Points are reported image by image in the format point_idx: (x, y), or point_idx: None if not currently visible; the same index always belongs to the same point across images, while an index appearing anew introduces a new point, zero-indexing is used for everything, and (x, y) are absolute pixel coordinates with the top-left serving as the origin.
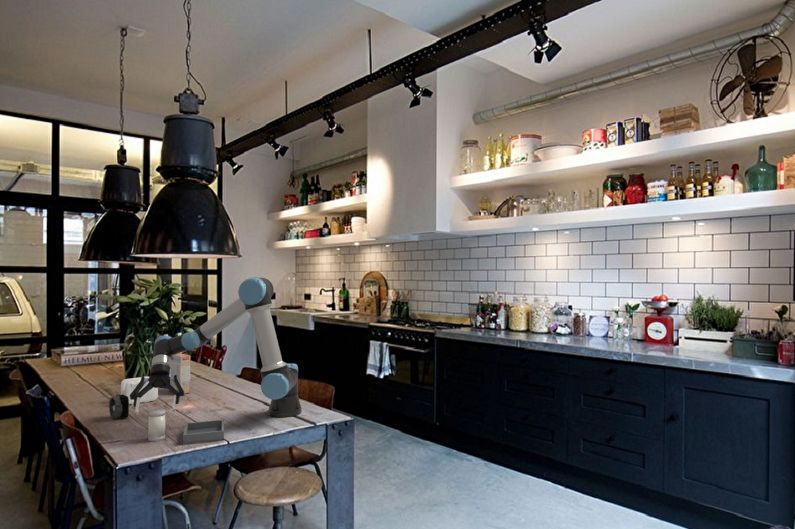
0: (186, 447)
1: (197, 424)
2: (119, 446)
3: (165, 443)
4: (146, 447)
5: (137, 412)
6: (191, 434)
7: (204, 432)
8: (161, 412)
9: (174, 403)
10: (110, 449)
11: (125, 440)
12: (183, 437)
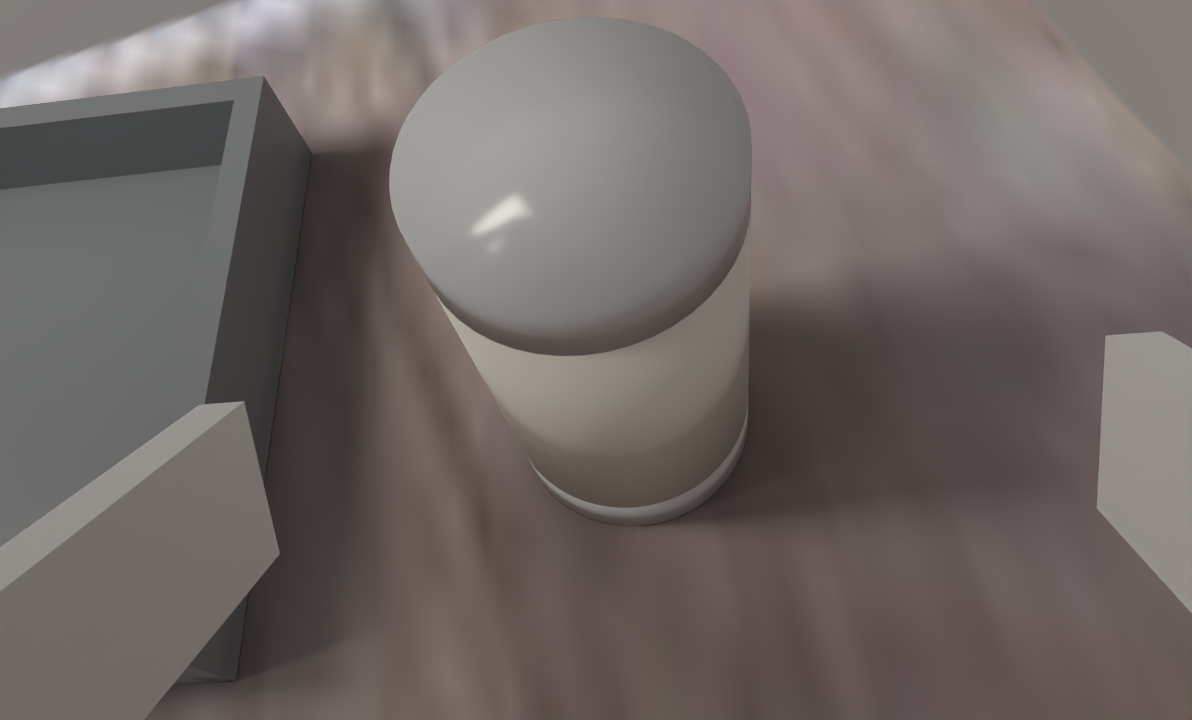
0: (284, 69)
1: None
2: (1073, 239)
3: None
4: None
5: (1107, 397)
6: (170, 89)
7: (21, 126)
8: (465, 63)
9: (127, 464)
10: (1142, 156)
11: None
12: (272, 96)
